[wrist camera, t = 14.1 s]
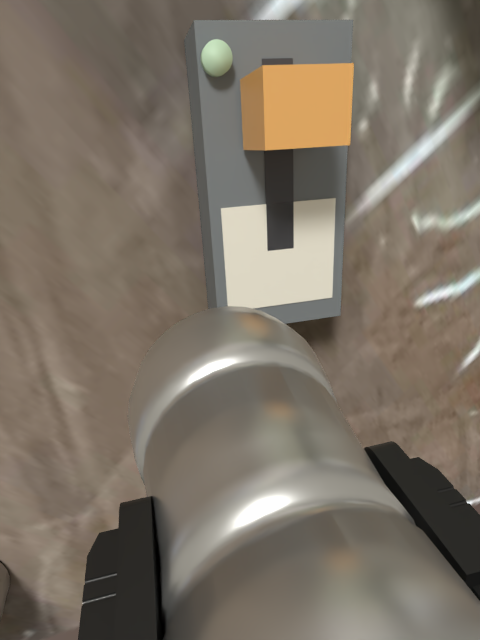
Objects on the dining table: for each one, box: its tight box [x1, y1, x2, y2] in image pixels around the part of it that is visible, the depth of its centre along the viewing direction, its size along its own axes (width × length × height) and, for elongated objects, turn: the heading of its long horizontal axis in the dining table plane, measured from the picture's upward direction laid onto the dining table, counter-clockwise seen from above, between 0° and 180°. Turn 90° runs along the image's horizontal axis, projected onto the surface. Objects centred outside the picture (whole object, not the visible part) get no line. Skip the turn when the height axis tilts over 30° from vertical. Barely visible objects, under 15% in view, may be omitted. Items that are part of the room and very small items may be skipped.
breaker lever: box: [240, 63, 354, 150], centre depth 25 cm, size 4×5×5 cm
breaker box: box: [184, 20, 353, 324], centre depth 31 cm, size 20×10×6 cm, turn 3°
